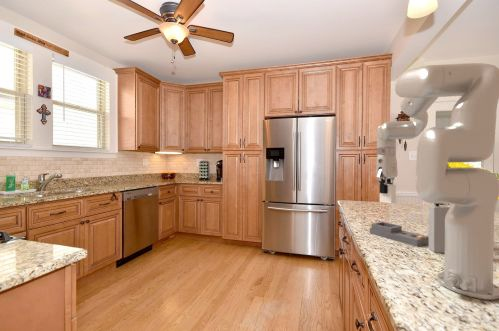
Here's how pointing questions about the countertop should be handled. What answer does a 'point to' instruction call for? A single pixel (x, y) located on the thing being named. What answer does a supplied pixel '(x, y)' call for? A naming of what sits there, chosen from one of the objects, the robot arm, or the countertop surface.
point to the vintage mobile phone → (437, 228)
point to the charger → (389, 194)
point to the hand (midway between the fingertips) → (386, 192)
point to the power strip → (398, 234)
